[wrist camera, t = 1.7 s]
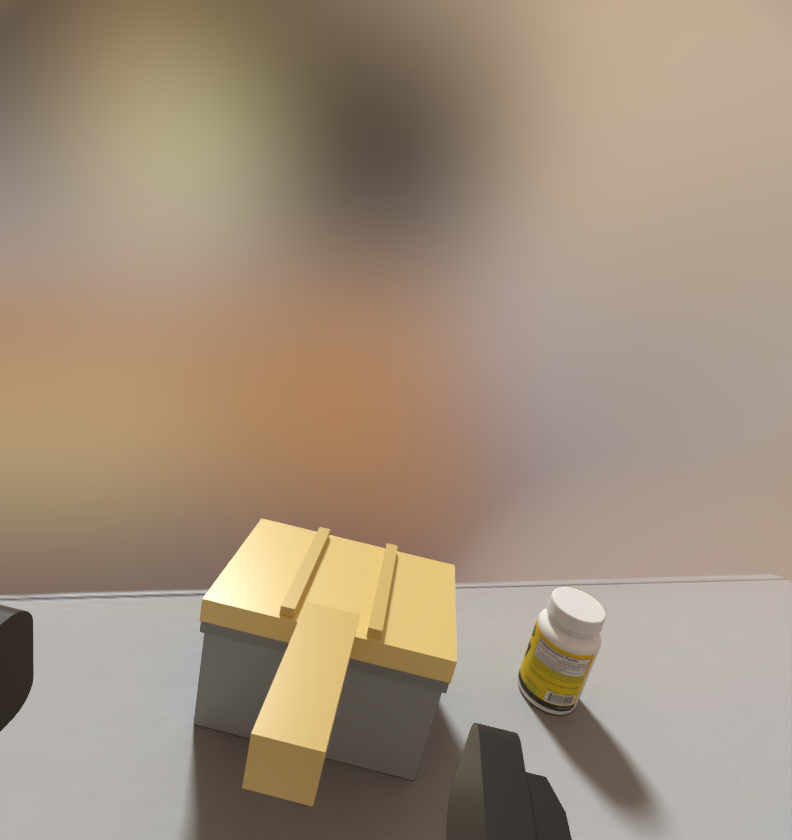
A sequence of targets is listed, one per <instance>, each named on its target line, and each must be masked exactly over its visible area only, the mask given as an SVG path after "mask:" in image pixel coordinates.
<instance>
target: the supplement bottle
mask: <svg viewBox="0 0 792 840" xmlns="http://www.w3.org/2000/svg"><path fill="white" fill-rule="evenodd" d="M605 618H606V613H605V610H604V608H603V607H602V606H601V604H600V603H599V602H598V601H597V600H595V599H594V598H593V597H591V596H590V595H588V594H586V593H585V592H582V591H580V590H578V589H574V588H570V587H560V588H557V589H555V590H554V591H553V592H552V595H551V597H550V599H549V601H548V603H547V608H546V609H544V610H543V611H542V612H541V613H540V614H539V616H538V619H537V622H536V625H535V627H534V630H533V633H532V636H531V639H530V642H529V645H528V647H527V650H526V653H525V656H524V659H523V661H522V664H521V667H520V670H519V673H518V685H519V688H520V690H521V692H522V693H523V695H524V696H525V697H526V698H527V699H528V700H529V701H530V702H531V703H532V704H533V705H535V706H536V707H538V708H539V709H541V710H543V711H545V712H547V713H551V714H555V715H564V714H568V713H570V712H571V711H573V710H574V709H575V707H576V705H577V703H578V701H579V698H580V696H581V693H582V691H583V688H584V685H585V683H586V680H587V678H588V675H589V673H590V670H591V668H592V665H593V663H594V661H595V658H596V656H597V654H598V651H599V649H600V645H601V637H600V634H599V633H600V631H601V630H602V627H603V624H604V621H605Z"/></svg>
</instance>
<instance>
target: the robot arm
mask: <svg viewBox="0 0 792 840" xmlns="http://www.w3.org/2000/svg"><path fill="white" fill-rule="evenodd" d="M32 683H33V618H32V615H31V614H30V613H29V612H27V611H23V610H19V609H15V608H11V607H7V606H2V605H0V731H1V730H2V729H3V728H4V727H5V726H6V725H7V724H8V723H9V722H10V721H11V720H12V719H13V718H14V717H15V715H16V714H17V713H18V712H19V710H20V709H21V707H22V706H23V704H24V702H25V701H26V699H27V697H28V695H29V692H30V690H31V687H32ZM447 840H572V839H571V835H570V830H569V826H568V821H567V817H566V812H565V810H564V809H563V807H562V805H561V803H560V801H559V800H558V798H557V796H556V794H555V792H554V791H553V789H552V787H551V785H550V783H549V782H548V780H547V778H546V777H543V776H539V775H535V774H531V773H527V772H525V766H524V760H523V754H522V747H521V742H520V738H519V736H518V734H517V733H514V732H510V731H506V730H502V729H498V728H494V727H490V726H486V725H482V724H477V723H474V724H473V725H472V727H471V730H470V732H469V735H468V738H467V741H466V744H465V748H464V751H463V754H462V757H461V760H460V763H459V766H458V769H457V772H456V775H455V778H454V781H453V784H452V788H451V792H450V798H449V805H448V813H447Z"/></svg>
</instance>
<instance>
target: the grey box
mask: <svg viewBox="0 0 792 840" xmlns="http://www.w3.org/2000/svg"><path fill="white" fill-rule="evenodd" d="M200 632H203V633H204V641H203V650H202V658H201V666H200V675H199V683H198V691H197V700H196V708H195V717H194V724H195V725H198V726H202V727H206V728H210V729H214V730H218V731H222V732H226V733H230V734H234V735H238V736H241V737H245V738H249V739H250V737H251V732H252V730H253V728H254V725H255V723H256V720H257V718H258V716H259V713H260V711H261V709H262V706H263V704H264V701H265V699H266V697H267V694H268V692H269V690H270V687H271V685H272V682H273V680H274V678H275V675H276V673H277V671H278V668H279V666H280V663H281V661H282V659H283V656H284V654H285V652H286V649H287V647H288V644H289V643H287V642H283V641H279V640H275V639H271V638H267V637H263V636H259V635H255V634H251V633H247V632H243V631H239V630H235V629H231V628H227V627H223V626H219V625H215V624H211V623H207V622H203V621H201V626H200ZM448 685H449V683H448V682H444V681H439V680H435V679H431V678H427V677H423V676H419V675H415V674H411V673H407V672H403V671H399V670H395V669H391V668H387V667H383V666H379V665H375V664H371V663H367V662H363V661H359V660H355V659H351V658H350V661H349V665H348V669H347V673H346V677H345V681H344V685H343V689H342V693H341V697H340V701H339V705H338V709H337V713H336V717H335V721H334V725H333V729H332V733H331V737H330V741H329V745H328V749H327V753H326V757H325V758H327V759H331V760H335V761H339V762H343V763H347V764H351V765H355V766H359V767H363V768H366V769H370V770H374V771H378V772H382V773H386V774H390V775H394V776H398V777H402V778H406V779H409V780H413V781H415V778H416V775H417V771H418V768H419V765H420V762H421V758H422V755H423V752H424V748H425V745H426V742H427V739H428V735H429V732H430V729H431V726H432V722H433V719H434V716H435V713H436V709H437V706H438V703H439V700H440V696H441V693H442V692H443V693H446V692H447V688H448Z"/></svg>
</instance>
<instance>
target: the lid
mask: <svg viewBox="0 0 792 840" xmlns="http://www.w3.org/2000/svg"><path fill="white" fill-rule="evenodd" d="M329 534H330V529H326V528H321V527H320V528H319V529H318V531H317V532H315V531H311V530H307V529H303V528H299V527H295V526H291V525H286V524H282V523H278V522H274V521H270V520H266V519H261V520H260V522H259V523H258V524H257V526H256V527H255V528H254V530H253V531H252V532H251V534H250V535H249V536H248V538H247V539H246V540H245V542H244V543H243V545H242V546H241V547H240V549H239V550H238V551H237V553H236V554H235V555H234V557H233V558H232V559H231V561H230V562H229V564H228V565H227V566H226V568H225V569H224V570H223V572H222V573H221V574H220V576H219V577H218V578H217V580H216V581H215V583H214V584H213V585H212V587H211V588H210V589H209V591H208V592H207V593H206V595H205V596H204V597H203V599H202V607H201V616H200V621H203V622H207V623H211V624H215V625H219V626H223V627H227V628H231V629H235V630H239V631H243V632H247V633H251V634H255V635H259V636H263V637H267V638H271V639H275V640H279V641H283V642H287V643H289V644H288V647H287V649H286V652H285V654H284V656H283V659H282V661H281V663H280V666H279V668H278V671H277V673H276V675H275V678H274V680H273V682H272V685H271V687H270V690H269V692H268V694H267V697H266V699H265V701H264V704H263V706H262V709H261V711H260V713H259V716H258V718H257V720H256V723H255V725H254V728H253V730H252V732H251V737H250V743H249V749H248V755H247V761H246V767H245V773H244V779H243V785H242V788H243V789H247V790H251V791H255V792H258V793H262V794H266V795H270V796H274V797H278V798H282V799H285V800H289V801H293V802H297V803H301V804H305V805H309V806H312V807H313V805H314V801H315V797H316V793H317V789H318V785H319V781H320V777H321V773H322V769H323V765H324V761H325V757H326V753H327V749H328V745H329V741H330V737H331V733H332V729H333V725H334V721H335V717H336V713H337V709H338V705H339V701H340V697H341V693H342V689H343V685H344V681H345V677H346V673H347V669H348V665H349V661H350V658H351V659H355V660H359V661H363V662H367V663H371V664H375V665H379V666H383V667H387V668H391V669H395V670H399V671H403V672H407V673H411V674H415V675H419V676H423V677H427V678H431V679H435V680H439V681H444V682H448V683H450V682H451V679H452V676H453V673H454V670H455V666H456V663H457V646H456V603H455V566H454V565H451V564H447V563H443V562H439V561H435V560H431V559H427V558H422V557H418V556H414V555H410V554H406V553H402V552H398V551H397V546H396V545H392V544H387V545H386V549H385V548H381V547H377V546H373V545H369V544H364V543H361V542H357V541H352V540H348V539H344V538H340V537H336V536H332V535H329Z"/></svg>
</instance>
